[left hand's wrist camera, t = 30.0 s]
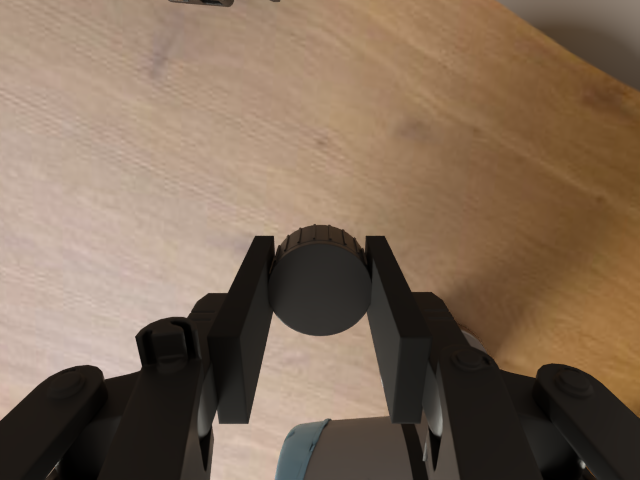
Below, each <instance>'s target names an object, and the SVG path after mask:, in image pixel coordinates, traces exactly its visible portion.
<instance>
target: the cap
mask: <svg viewBox="0 0 640 480" xmlns="http://www.w3.org/2000/svg"><path fill="white" fill-rule="evenodd" d="M371 292H372V279H371V276H370V272H369V269H368V262H367V259H366V255H365V252H364V249H363V248H361V246H360V245H359V244H358V242H357V241H356V238H355V237H354V238H353V237H352V236H351V235H349V234H348V233H346V232H345V230H343V229H342V230H341V229H339V228H336V227H332V226H331V225H328V226H327V225H316V224H314V225H313V226H308V227H304V228H299V230H297V231H295V232H294V233H292V234H291V235H287V238H286V239H285V240H284V241H283V242H282V244H281V245H279V246H278V248H277V252H276V255H275V257H274V258H273V262H272V265H271V269H270V272H269V280H268V296H269V303H270V306H271V308H272V310H273V311H274V313H275V314H276V316H277V317H278V318H279V319H280V320H281V321H282V322H283V323H284V324H285V325H287V326H288V327H290V328H291V329H293V330H295V331H297V332H300V333H303V334H307V335H312V336H328V335H333V334H337V333H340V332H343V331H345V330H347V329H349V328H350V327H352V326H353V325H355V324H356V323H357V322H358V321H359V320H360V319H361V318H362V317H363V316H364V314H365V313H366V311H367V310H368V308H369V306H370V303H371Z"/></svg>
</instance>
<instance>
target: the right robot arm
mask: <svg viewBox="0 0 640 480" xmlns="http://www.w3.org/2000/svg"><path fill="white" fill-rule="evenodd" d="M169 1H170V2H176V3H188V4H200V5H211V6H223V7H230V6H231V5H232V4H233V2H234V0H169ZM271 1H273V2H280V0H271Z"/></svg>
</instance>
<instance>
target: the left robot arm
mask: <svg viewBox="0 0 640 480" xmlns="http://www.w3.org/2000/svg"><path fill="white" fill-rule="evenodd" d="M365 255H366V259H367V262H368V269H369V272H370V276H371V279H372V292H371V303H370V306H369V308H368V310H367V316H368V320H369V325H370V329H371V334H372V338H373V343H374V347H375V352H376V356H377V361H378V365H379V372H380V377H381V382H382V385H383V388H384V392H385V397H386V401H387V406H388V410H389V415H390V416H387V417H373V418H359V419H345V420H331V419H325V420H324V421H320V422H312V423H305V424H300V425H297V426H295V427H294V428H293V429H292V430H291V431H290V432H289V433H288V435H287V437H286V439H285V441H284V443H283V446H282V449H281V452H280V456H279V460H278V465H277V470H276V475H275V480H640V419H639V418H638V417H637V416H636V415H635V414H634V413H633V412H632V411H631V410H630V409H629V408H628V407H627V406H625V405H624V404H623V403H622V402H621V401H620V400H619V399H618V398H617V397H616V396H615V395H614V394H613V393H612V392H611V391H609V390H608V389H607V388H606V387H605V386H604V385H603V384H602V383H601V382H599V381H598V380H597V379H595V378H594V377H593V376H591V375H589V374H587V373H585V372H583V371H581V370H579V369H577V368H574V367H571V366H567V365H564V364H553V363H552V364H547V365H543V366H542V367H541V368H540V369H538V371H537V375H536V378H533V377H528V376H524V375H519V374H515V373H510V372H507V371H504V370H500V369H499V367H498V365H497V364H496V362H495V361H494V359H493V358H492V357H490V356H489V355H488V354H487V352H486V350H485V349H484V347H483V346H482V344H481V343H480V341H479V340H478V338H477V337H476V336H475V335H474V334H473V333H472V332H471V331H470V330H469V329H467V328H465V327H463V326H461V325H459V324H457V323H456V321H455V320H454V318H453V316H452V315H451V313H450V312H449V310H448V308H447V307H446V305H445V303H444V302H443V300H442V299H440V298H439V297H437V296H436V295H435V294H433V293H432V292H411V290H410V288H409V286H408V284H407V282H406V280H405V278H404V275H403V273H402V271H401V269H400V267H399V265H398V263H397V261H396V259H395V257H394V255H393V252H392V250H391V248H390V246H389V244H388V242H387V240H386V238H385V236H366V243H365ZM274 257H275V248H274V236H255V237H254V239H253V242H252V244H251V246H250V248H249V250H248V252H247V254H246V256H245V258H244V260H243V262H242V264H241V267H240V269H239V271H238V273H237V275H236V277H235V279H234V281H233V283H232V285H231V287H230V289H229V292H228V293H208V294H207V295H205V296H204V297H203V298H201V299H200V300H199V301H197V303H196V304H195V306H194V308H193V309H192V311H191V313H190V314H189V316H188V317H187V318H185V317H170V318H165V319H160V320H158V321H155V322H153V323H150V324H149V325H147V326H146V327H144V328H143V329H141V330H140V331H139V333H138V334H137V335H136V336H135V338H136V342H137V347H138V351H139V355H140V359H141V364H142V368H141V370H140V371H138V372H135V373H131V374H127V375H123V376H118V377H114V378H109V379H104V376H103V372H102V371H101V370H100V369H99V368H98V367H95V366H91V365H83V366H75V367H71V368H68V369H65V370H62V371H60V372H58V373H56V374H54V375H52V376H50V377H48V378H47V379H46V380H44V381H43V382H42V383H40V384H39V385H38V386H37V387H36V388H35V389H34V390H33V391H32V392H30V393H29V394H28V395H27V396H26V397H25V398H24V399H23V400H22V401H21V402H20V403H19V404H18V405H17V406H16V407H15V408H14V409H12V410H11V411H10V412H9V413H8V414H7V415H6V416H5V417H4V418H3V419H2V420H1V421H0V480H210V473H211V463H212V454H213V444H214V436H213V429H212V422H213V419H214V416H215V414H216V411H217V412H218V419H219V424H248V423H249V418H250V414H251V409H252V405H253V400H254V396H255V391H256V387H257V382H258V378H259V373H260V369H261V364H262V360H263V355H264V351H265V346H266V342H267V337H268V333H269V328H270V324H271V319H272V315H273V310H272V308H271V306H270V303H269V296H268V280H269V272H270V269H271V265H272V262H273V258H274ZM585 466H587V467H588V468H589V470H590V471H591V472H592V473H593V475H594V476H595V477H596V478H595V477H594V476H593V475H592V474H591V473H590V472H589V470H588V469H587V468H586V467H585ZM54 467H55V468H54ZM53 468H54V470H53V471H52V469H53ZM51 471H52V472H51ZM50 472H51V473H50ZM49 473H50V475H49V476H48V474H49ZM47 476H48V477H47ZM46 477H47V478H46ZM45 478H46V479H45Z"/></svg>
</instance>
